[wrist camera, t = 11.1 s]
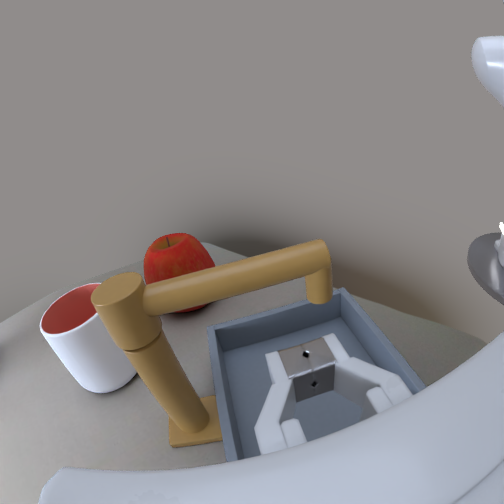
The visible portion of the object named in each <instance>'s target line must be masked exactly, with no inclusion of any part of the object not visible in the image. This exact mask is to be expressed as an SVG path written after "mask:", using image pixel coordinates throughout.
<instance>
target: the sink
mask: <svg viewBox="0 0 504 504" xmlns="http://www.w3.org/2000/svg"><path fill="white" fill-rule="evenodd" d="M331 333H333V334H335V335H336V337H337V338H338V340H339V341H340V343H341V344H342V346H343V348H344V349H345V351H346V352H347V354H348V355H349V357H350V358H351V357H355V358H358V359H360V360H362V361H365V362H367V363H370V364H372V365H374V366H377V367H379V368H382V369H384V370H387V371H389V372H392V373H395V374H397V375H399V376H400V378H401V379H402V380H403V382H404V383H405V384H406V386H407V387H408V389H409V390H410V391H411V393H412V394H413V395H414V394H416V393H418V392H420V391H421V390H423V389H425V388H426V386H425V384H424V383H423V382H422V381H421V379H420V378H419V377H418V375H417V374H416V373H415V372H414V370H413V369H412V368H411V367H410V365H409V364H408V363H407V362H406V360H405V359H404V358H403V357H402V355H401V354H400V353H399V352H398V350H397V349H396V348H395V347H394V346H393V344H392V343H391V342H390V341H389V340H388V338H387V337H386V336H385V335H384V334H383V332H382V331H381V330H380V329H379V328H378V326H377V325H376V324H375V323H374V322H373V320H372V319H371V318H370V317H369V316H368V315H367V313H366V312H365V311H364V310H363V309H362V308H361V306H360V305H359V304H358V303H357V302H356V301H355V299H354V298H353V297H352V296H351V295H350V294H349V293H348V291H347V290H346V289H345V288H340V289H338V290H334V291H333V297H332V299H331V300H330V301H329V302H327V303H324V304H313V303H311V302H309V301H308V299H306V300H302V301H299V302H296V303H292V304H289V305H286V306H282V307H279V308H275V309H272V310H268V311H265V312H261V313H258V314H254V315H250V316H247V317H243V318H239V319H235V320H231V321H228V322H224V323H220V324H216V325H211V326H207V334H208V343H209V351H210V359H211V366H212V374H213V381H214V388H215V395H216V402H217V408H218V414H219V421H220V427H221V432H222V438H223V444H224V449H225V455H226V460H227V462H231V461H237V460H242V459H246V458H251V457H255V456H260V455H261V453H260V449H259V445H258V441H257V438H256V434H255V430H254V427H255V425H256V423H257V420H258V418H259V415H260V413H261V411H262V408H263V406H264V403H265V401H266V398H267V396H268V393H269V391H270V388H271V385H272V381H271V377H270V373H269V370H268V365H267V361H266V356H265V354H268V353H271V352H275V351H278V350H282V349H286V348H289V347H293V346H296V345H300V344H302V343H305V342H308V341H311V340H314V339H317V338H320V337H323V336H326V335H329V334H331ZM362 410H363V408H362V407H360V406H358V405H357V404H355V403H353V402H352V401H350V400H348V399H347V398H345V397H343V396H342V395H340V394H338V393H337V392H335V391H334V390H332V391H329V392H326V393H323V394H320V395H317V396H314V397H311V398H308V399H305V400H303V401H300V402H297V403H296V407H295V411H294V415H293V418H294V419H298V420H299V423H300V425H301V428H302V430H303V433H304V435H305V438H306V440H307V442H309V441H312V440H315V439H318V438H320V437H323V436H326V435H329V434H331V433H334V432H337V431H339V430H342V429H344V428H347V427H349V426H351V425H354V424H356V423H358V422H359V421H360V417H361V413H362ZM293 418H292V419H293Z"/></svg>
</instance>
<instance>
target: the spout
mask: <svg viewBox="0 0 504 504" xmlns="http://www.w3.org/2000/svg"><path fill="white" fill-rule="evenodd" d="M304 276H305V283H306V293H307V299H308V301H309V302H311V303H313V304H324V303H327V302H329V301H330V300H331V299H332V297H333V288H332V265H331V257H330V254H329V251H328V248H327V246H326V244H325V242H324V241H323V240H322V239H317V240H313V241H310V242H306V243H302V244H298V245H295V246H291V247H287V248H284V249H280V250H276V251H272V252H269V253H265V254H261V255H257V256H254V257H250V258H246V259H242V260H239V261H235V262H231V263H227V264H224V265H220V266H216V267H212V268H208V269H205V270H201V271H197V272H193V273H190V274H186V275H182V276H178V277H174V278H171V279H167V280H163V281H159V282H155V283H152V284H148V285H145V283H144V281H143V279H142V276H141V275H140V274H138V273H135V272H126V273H122V274H118V275H116V276H113V277H111V278H109V279H107V280H106V281H104V282H103V283H101V284H100V285H99V286H98V287H97V288H96V289H95V290H94V291H93V293H92V295H91V302H92V304H93V306H94V308H95V309H96V311H97V313H98V315H99V317H100V319H101V320H102V322H103V324H104V326H105V327H106V329H107V331H108V332H109V334H110V336H111V337H112V339H113V341H114V342H115V344H116V345H117V346H118V347H119V348H121V349H124V350H135V349H139V348H141V347H144V346H146V345H147V344H149V343H150V342H152V341H153V340H154V339H155V338H156V337H157V336H158V334H159V333H160V331H161V328H162V322H161V319H160V317H159V315H163V314H167V313H171V312H175V311H179V310H183V309H187V308H191V307H195V306H199V305H203V304H207V303H211V302H214V301H218V300H222V299H226V298H230V297H233V296H237V295H241V294H244V293H248V292H252V291H255V290H259V289H262V288H266V287H269V286H273V285H276V284H280V283H283V282H287V281H290V280H294V279H297V278H300V277H304Z"/></svg>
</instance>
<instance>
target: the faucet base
mask: <svg viewBox="0 0 504 504" xmlns="http://www.w3.org/2000/svg"><path fill="white" fill-rule="evenodd" d="M122 350H123V352H124V353H125V355H126V356H127V358H128V359H129V361H130V362H131V364H132V365H133V367H134V368H135V370H136V371H137V373H138V374H139V376H140V377H141V379H142V380H143V382H144V383H145V384H146V386H147V387H148V389H149V390H150V391H151V393H152V394H153V395H154V397H155V398H156V399H157V401H158V402H159V403H160V405H161V406H162V407H163V409H164V410H165V411H166V412H167V414H168V415H169V444H170V445H171V446H172V447H173V448H175V447H183V446H191V445H198V444H204V443H210V442H216V441H221V440H223V438H222V432H221V427H220V421H219V414H218V408H217V402H216V395H212V396H208V397H203V398H199V397H198V395H197V393H196V392H195V390H194V388H193V387H192V385H191V383H190V381H189V380H188V378H187V376H186V374H185V372H184V371H183V369H182V367H181V365H180V363H179V361H178V360H177V358H176V356H175V354H174V352H173V350H172V348H171V346H170V344H169V342H168V340H167V338H166V336H165V334H164V332H163V330H162V328H161V331H160V333H159V334H158V336H157V337H156V338H155V339H154V340H153V341H152V342H150V343H149V344H147V345H146V346H144V347H141V348H139V349H135V350H124V349H122Z"/></svg>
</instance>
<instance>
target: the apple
mask: <svg viewBox="0 0 504 504" xmlns="http://www.w3.org/2000/svg"><path fill="white" fill-rule="evenodd" d="M212 267H215V264H214V262H213V260H212V258H211V257H210V255H209V254H208V252H207V250H206V249H205V248H204V247H203V245H202V244H201V243H200V242H199V241H198V240H197V239H196V238H195V237H193V236H191V235H189V234H186V233H175V234H169V235H165V236H162V237H160V238H158V239H157V240H155V241H154V242H153V244H152V245H151V246H150V247H149V248H148V250H147V252H146V254H145V258H144V277H145V281H146V285H148V284H152V283H155V282H159V281H163V280H167V279H171V278H174V277H178V276H182V275H186V274H190V273H193V272H197V271H201V270H205V269H208V268H212ZM207 304H208V303H207ZM205 305H206V304H203V305H199V306H195V307H191V308H187V309H183V310H179V311H175V313H180V312H189V311H193V310H196V309H199V308H202V307H204V306H205Z"/></svg>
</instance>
